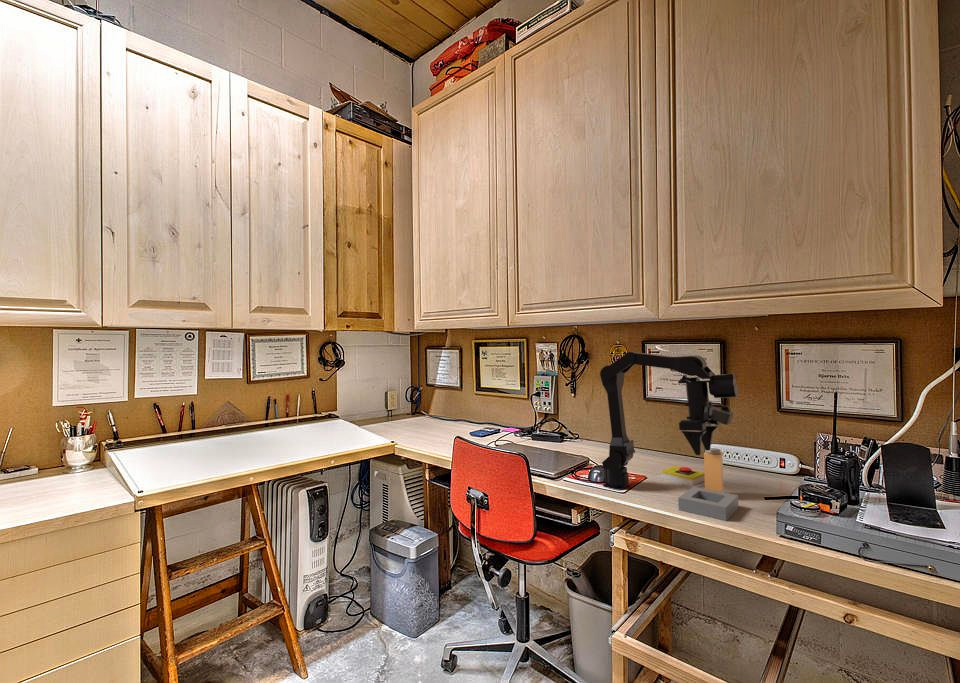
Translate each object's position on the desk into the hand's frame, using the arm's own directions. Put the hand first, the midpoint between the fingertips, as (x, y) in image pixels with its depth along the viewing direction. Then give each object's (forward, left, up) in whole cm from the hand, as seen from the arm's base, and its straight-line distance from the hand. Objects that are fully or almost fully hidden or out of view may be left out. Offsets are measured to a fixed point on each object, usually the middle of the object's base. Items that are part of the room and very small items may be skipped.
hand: (703, 452), depth 131 cm
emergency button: (-13, +19, -15) cm, 27 cm away
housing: (+2, -4, -15) cm, 15 cm away
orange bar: (0, +8, -15) cm, 17 cm away
